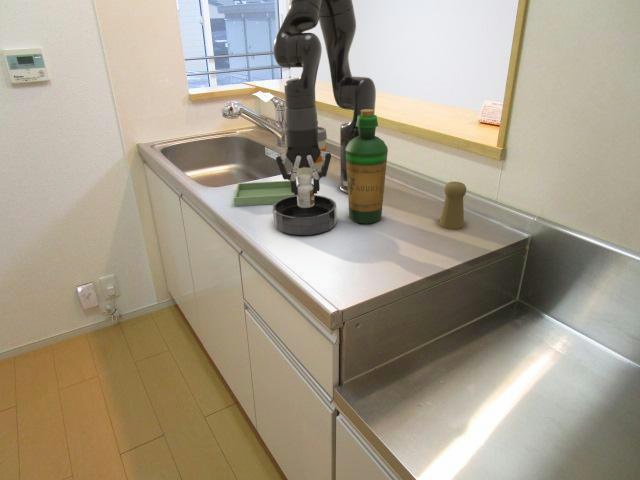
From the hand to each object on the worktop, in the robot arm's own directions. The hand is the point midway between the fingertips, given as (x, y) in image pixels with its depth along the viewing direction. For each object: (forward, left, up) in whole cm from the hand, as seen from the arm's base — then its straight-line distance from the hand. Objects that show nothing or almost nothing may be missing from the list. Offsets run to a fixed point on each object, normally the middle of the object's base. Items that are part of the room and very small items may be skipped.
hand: (305, 193), depth 114 cm
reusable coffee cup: (-3, -43, -9) cm, 44 cm away
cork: (-37, +6, -9) cm, 38 cm away
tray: (+11, -22, -8) cm, 26 cm away
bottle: (-16, -1, -9) cm, 18 cm away
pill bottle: (0, 0, -4) cm, 4 cm away
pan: (0, 0, -8) cm, 8 cm away
